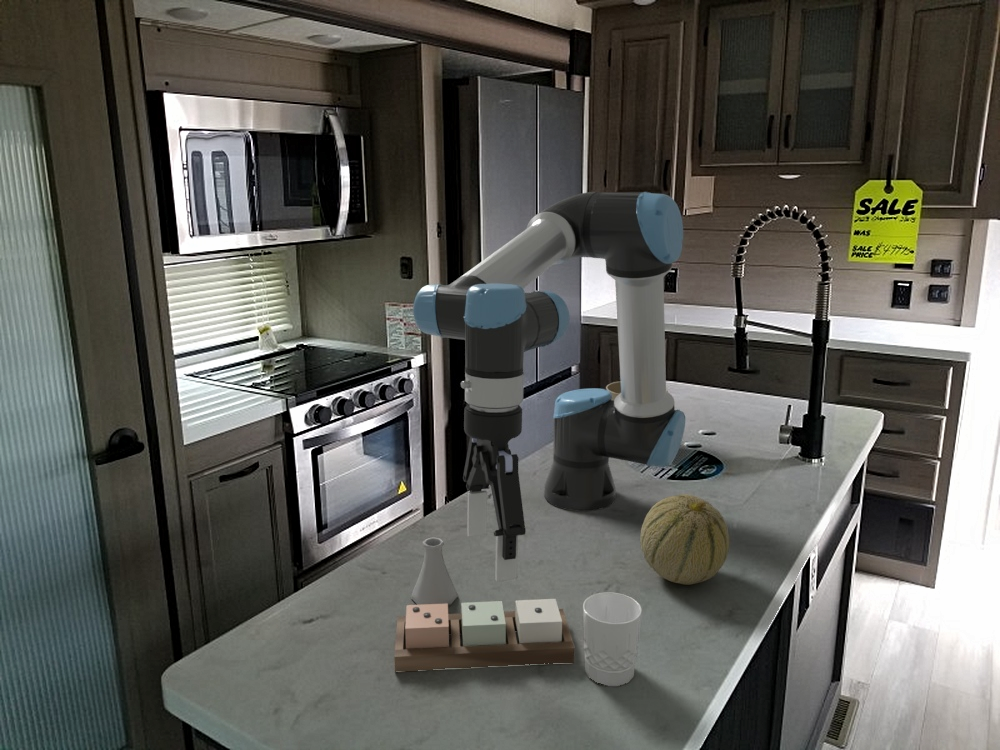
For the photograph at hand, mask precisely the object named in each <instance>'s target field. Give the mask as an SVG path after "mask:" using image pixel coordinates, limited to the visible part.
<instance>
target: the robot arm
mask: <svg viewBox="0 0 1000 750" xmlns="http://www.w3.org/2000/svg"><path fill="white" fill-rule="evenodd" d="M683 225H684V224H683V218H682V215H681V211H680V208H679V206H678V204H677V202H676V201H675V200H674V198H672V197H671V196H670V195H667V194H664V193H653V192H652V193H651V192H648V191H643V192H642V191H641V192H640V191H639V192H636V191H633V192H630V191H629V192H624V191H623V192H621V191H619V192H617V191H616V192H610V191H609V192H600V191H589V192H582V193H578V194H574V195H572V196H569V197H567V198H564V199H562V200H560V201H558V202H555V203H553V204H552V205H549V206H548V207H546V208H545V209H543V210H541V211H540V212H538V213H537V214H535V215H534V216H533V217H532V218H530V220H529V222H528V223H527V226H526V228H525V229H524V230H523V231H522V232H520V233H519V234H518V235H516V236H515V237H514V238H512V239H511V240H509V241H508V242H507V243H505V244H504V245H503V246H501V247H500V248H499V249H497V250H495V251H494V252H493V253H492V254H490V255H489V256H488V257H486V258H484V259H483V260H481V261H480V262H479V263H478V264H476V265H475V266H474V267H472V268H471V269H470V270H468V271H466V272H465V273H464V274H463V275H461V276H460V277H458V278H457V279H456V280H453V282H451V283H450V284H446V285H444V284H442V283H438V284H427V285H424V286H423V287H421V288H420V290H419V291H418V292H417V294H416V295H415V299H414V301H413V307H412V308H413V309H412V313H413V314H412V315H413V317H414V318H413V319H414V322H415V325H416V327H417V328H418V329H419V331H420V332H422V333H424V334H426V335H430V336H436V337H439V338H441V339H442V338H443V339H445V338H449V339H456V340H464V341H465V342H464V343H465V344H464V345H465V347H464V349H465V351H464V352H465V353H464V356H465V358H464V360H465V365H464V373H465V374H464V377H465V379H464V380H462V381H461V382H460V387H461V388H462V389H464V401H465V402H466V403H467V404H466V405H465V407H464V411H463V412H464V413H463V415H464V417H463V418H464V419H463V420H464V421H463V427H464V428H463V431H464V433H465V435H466V436H468V437H469V442H468V447H467V452H466V456H465V457H466V458H465V465H464V469H463V476H462V480H463V482H464V483H466V485H465V487H466V490H467V491H468V492H467V510H466V511H467V516H466V517H467V520H466V523H467V524H466V529H467V530H466V535H467V537H468V538H471V537H478V536H479V537H481V536H486V535H487V532H488V528H487V527H488V526H487V525H488V491H487V489H488V490H489V489H490V490H491V494H492V495H491V496H492V499H493V500H492V501H493V506H494V512H495V517H496V521H497V528H498V529H495V531H494V532H493V536H494V537H495V558H494V559H495V563H494V565H495V566H494V579H495V581H496V582H497V583H498V582H504V581H505V582H506V581H512V580H518V557H519V555H518V553H519V536H524V535H525V534H526V532H527V531H526V525H525V524H526V523H525V518H524V517H525V516H524V515H525V514H524V507H523V502H522V501H523V499H522V492H521V484H520V476H519V475H520V473H519V459H520V458H519V456H518V454H517V453H516V454H512V451H511V449H509V442H510V441H511V440H513V439H515V438H517V437H519V436H520V434H521V433H522V430H523V429H522V427H523V408H522V407H521V404H522V403H523V401H524V378H525V377H524V375H525V372H524V357H525V353H526V352H527V351H531V350H534V349H537V348H540V347H541V348H544V347H546V346H549V345H551V344H552V343H554V342H556V341H559V339H561V338H562V337H563V336H564V335H565V334H566V332H567V330H568V329H569V324H570V311H569V307H568V305H567V304H566V301H565V300H564V299H563V298H562V297H561V296H560V295H559V294H557V293H556V292H552V291H549V290H542V291H540V290H534V291H532V292H525V290H524V289H525V288H527V286H529V285H530V284H531V283H532V282H534V281H535V280H536V279H537V278H538V277H540V276H541V275H542V274H543V273H544V272H546V271H548V269H549V268H551V267H552V266H553V265H560V264H563V263H565V262H567V261H568V260H569V259H572V258H593V259H602V260H605V271H606V274H607V275H608V276H610V277H611V279H613V280H614V282H615V303H616V320H617V321H616V323H617V341H618V356H619V357H618V358H619V359H618V360H619V376H620V377H619V380H620V381H621V393H620V394H619V395H618V396H617V397H616V398H615V400H611V399H612V395H611V392H610V391H608V390H606V388H596V387H595V388H592V387H591V388H590V387H589V388H580V389H574V390H570V391H566V392H563V393H561V394H560V395H559V396H557V398H556V399H555V401H554V402H555V403H554V410H553V414H552V415H553V417H552V418H553V446H552V447H553V448H552V449H553V450H552V451H553V454H552V455H553V457H552V464H551V467H550V469H549V472H548V475H547V477H546V480H545V482H544V487H543V488H544V490H543V491H544V493H543V494H544V495H543V497H544V499H545V500H546V501H547V503H549V504H551V505H553V506H555V507H558V508H560V509H565V510H568V511H576V512H579V511H580V512H583V511H584V512H587V511H588V512H590V511H598V510H602V509H606V508H608V507H610V506H611V505H612V504H614V503H615V501H616V493H617V489H616V483H615V481H614V478H613V474H612V471H611V467H610V465H609V464H610V463H609V462H610V461H609V459H616V460H620V461H626V462H631V463H636V464H642V465H645V466H646V467H650V466H652V467H658V468H666V467H668V466H670V465H671V464H672V463H673V461H674V460H675V459H676V457H677V454H678V452H679V450H680V447H681V444H682V440H683V437H684V434H685V433H684V432H685V427H686V415H685V412H683V411H682V410H680V409H675V408H676V407H675V399H674V396H673V395H672V394H671V393H670V392H669V391H668V392H667V391H666V388H667V380H666V379H667V375H666V373H667V372H666V339H665V338H666V335H665V333H666V331H665V330H666V329H665V291H664V289H665V288H664V286H665V285H664V277H665V276H666V275H667V274H668V273H669V272H671V270H672V269H673V268H672V267H673V263H675V262H677V261H678V259H679V258H680V257H681V254H682V250H683V241H684V226H683Z"/></svg>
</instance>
